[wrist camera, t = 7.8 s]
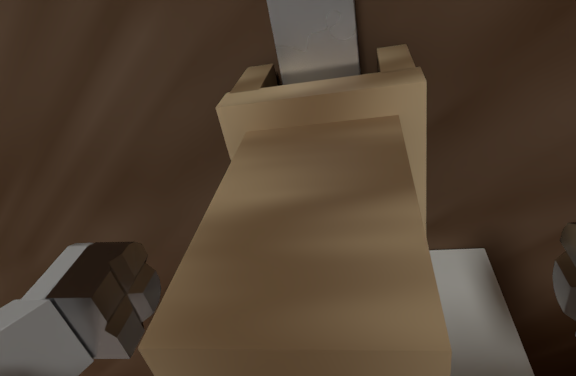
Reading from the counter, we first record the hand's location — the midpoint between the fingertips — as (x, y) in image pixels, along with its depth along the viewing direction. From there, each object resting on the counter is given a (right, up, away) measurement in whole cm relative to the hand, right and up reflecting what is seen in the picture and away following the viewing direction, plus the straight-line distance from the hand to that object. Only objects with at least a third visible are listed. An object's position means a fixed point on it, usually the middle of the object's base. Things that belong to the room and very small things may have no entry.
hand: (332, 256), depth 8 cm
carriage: (+1, +3, +5) cm, 6 cm away
